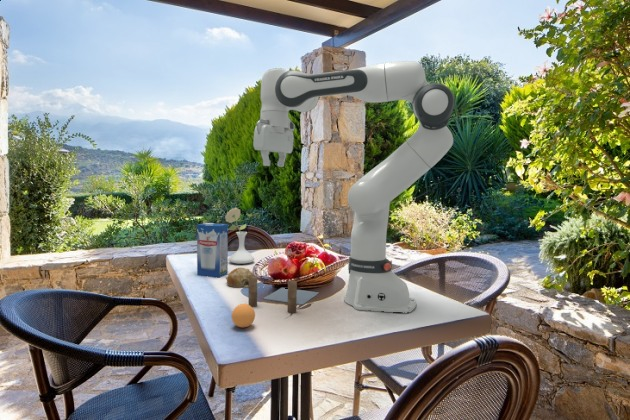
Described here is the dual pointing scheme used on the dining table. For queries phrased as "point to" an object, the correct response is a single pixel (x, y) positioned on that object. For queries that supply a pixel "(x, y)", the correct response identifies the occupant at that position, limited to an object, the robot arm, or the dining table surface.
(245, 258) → the flower in vase
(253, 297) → the post far
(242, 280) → the bread roll
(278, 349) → the dining table surface
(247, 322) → the ball
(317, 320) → the dining table surface
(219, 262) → the milk carton
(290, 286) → the post near
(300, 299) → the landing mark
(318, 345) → the dining table surface
